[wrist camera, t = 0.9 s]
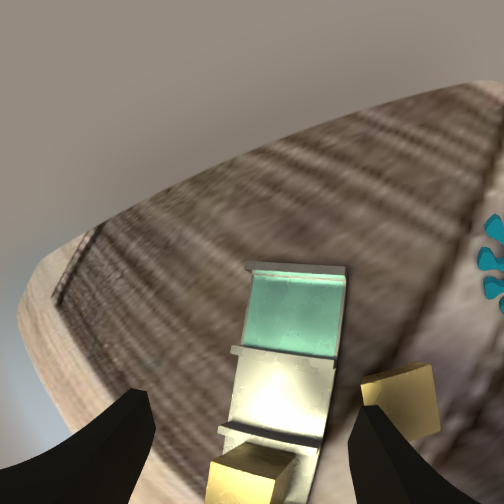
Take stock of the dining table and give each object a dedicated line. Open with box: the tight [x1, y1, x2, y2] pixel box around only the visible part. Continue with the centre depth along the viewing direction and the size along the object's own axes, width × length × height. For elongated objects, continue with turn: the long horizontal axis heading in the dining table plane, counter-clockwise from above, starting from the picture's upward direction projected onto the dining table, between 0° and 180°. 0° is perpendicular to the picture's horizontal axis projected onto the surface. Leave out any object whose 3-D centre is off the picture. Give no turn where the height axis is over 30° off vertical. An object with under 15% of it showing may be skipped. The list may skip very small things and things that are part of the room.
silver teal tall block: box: [218, 261, 348, 504], centre depth 20 cm, size 19×7×2 cm, turn 171°
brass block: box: [205, 442, 297, 504], centre depth 16 cm, size 4×4×5 cm
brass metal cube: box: [361, 361, 441, 441], centre depth 16 cm, size 4×4×5 cm
